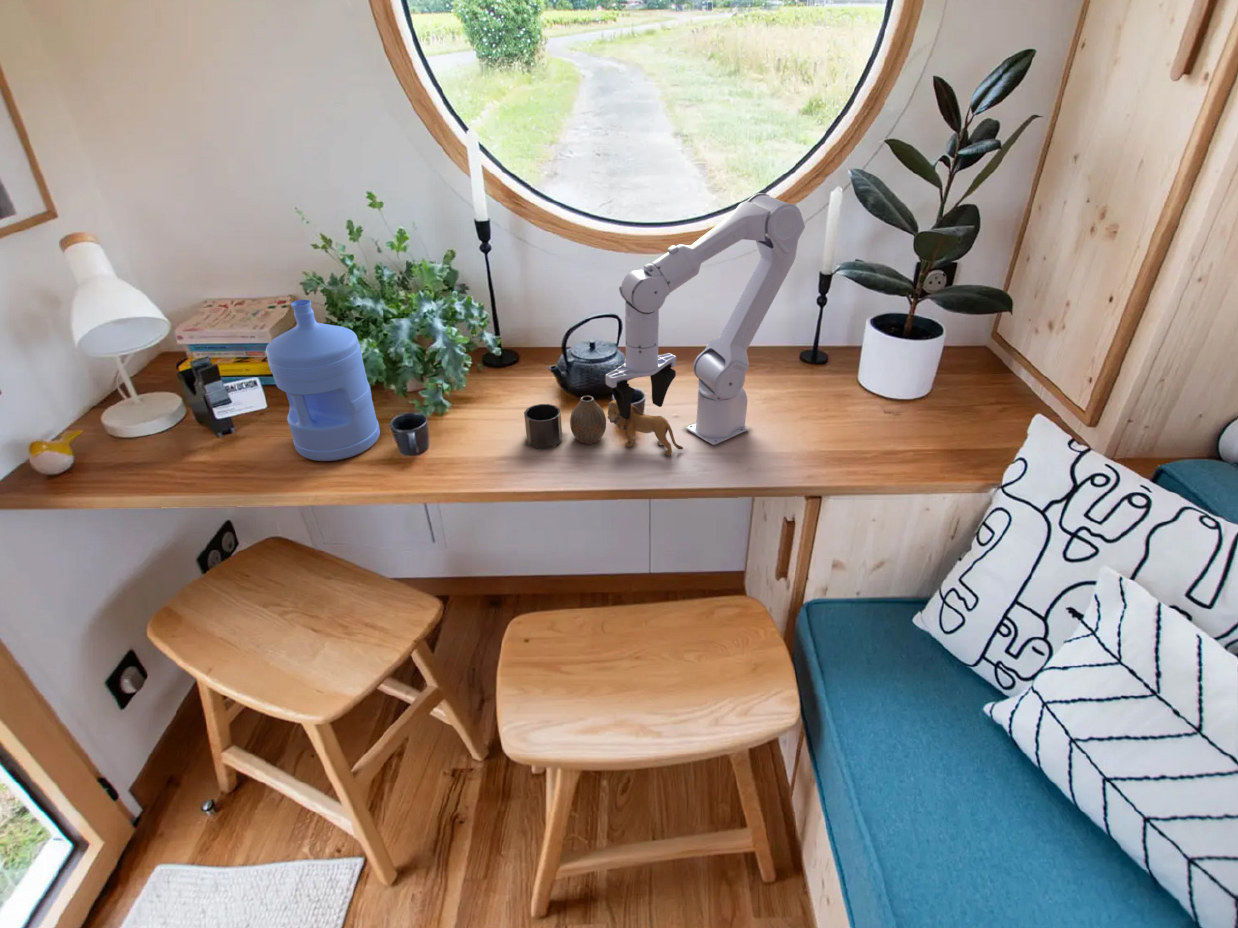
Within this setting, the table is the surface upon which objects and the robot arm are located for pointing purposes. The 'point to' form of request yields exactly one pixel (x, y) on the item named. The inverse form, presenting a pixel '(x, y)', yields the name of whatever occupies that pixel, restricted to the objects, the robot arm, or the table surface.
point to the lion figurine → (642, 425)
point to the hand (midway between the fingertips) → (641, 410)
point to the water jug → (323, 387)
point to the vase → (588, 421)
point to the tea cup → (543, 426)
